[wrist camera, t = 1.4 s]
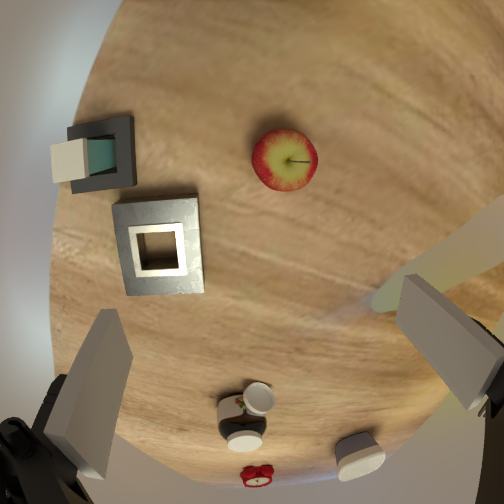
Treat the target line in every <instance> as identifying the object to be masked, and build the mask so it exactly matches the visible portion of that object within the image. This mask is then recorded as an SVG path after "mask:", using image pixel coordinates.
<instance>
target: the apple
mask: <svg viewBox="0 0 504 504" xmlns="http://www.w3.org/2000/svg"><path fill="white" fill-rule="evenodd" d="M317 165H318V156H317V153H316V150H315V148H314V146H313V145H312V143H311V142H310V140H309V139H308V138H307V137H306V136H305V135H304V134H302V133H300V132H298V131H295V130H290V129H278V130H273V131H270V132H268V133H266V134H265V135H263V136H262V137H261V138H260V140H259V141H258V143H257V144H256V146H255V148H254V151H253V154H252V166H253V168H254V171H255V173H256V174H257V176H258V177H259V179H260V180H261V181H262V182H263V183H264V184H265V185H266V186H267V187H269V188H271V189H273V190H276V191H294V190H298V189H301V188H303V187H304V186H305V185H307V184H308V182H309V181H310V180H311V178H312V177H313V175H314V173H315V171H316V168H317Z"/></svg>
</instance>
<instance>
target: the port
mask: <svg viewBox="0 0 504 504" xmlns="http://www.w3.org/2000/svg"><path fill="white" fill-rule="evenodd" d="M112 213H113V221H114V228H115V235H116V241H117V247H118V253H119V259H120V264H121V269H122V275H123V280H124V284H125V289H126V294H127V296H140V295H167V294H189V293H204V281H205V280H204V269H203V256H202V243H201V228H200V212H199V193H190V194H175V195H162V196H150V197H138V198H128V199H120V200H118V201H117V202H115V203H114V204H112ZM164 231H175V233H176V243H177V253H178V258H160V259H147V254H146V247H145V239H144V233H149V232H164Z"/></svg>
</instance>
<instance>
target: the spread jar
mask: <svg viewBox="0 0 504 504" xmlns="http://www.w3.org/2000/svg"><path fill="white" fill-rule="evenodd" d="M274 405H275V396H274V393H273V391H272V390H271V389H270V388H269V387H268V386H267V385H266V384H263V383H260V382H255V383H252V384H251V385H249V386H248V387H247V388H246V389H245V390H244V393H234V394H230V395H228V396H226V397H224V398H223V399H222V400H221V401H220V402H219V404H218V408H217V424H218V430H219V432H220V435H221V436H222V437H223V438H224V439H225V440H226V441H227V445H228V448H229V449H231V450H233V451H237V452H248V451H252V450H255V449H257V448H259V447H260V446H261V445H262V436H263V434H264V433H265V430H266V427H267V421H266V414H265V413H266V412H268V411H270V410H271V409H272V408H273V407H274Z"/></svg>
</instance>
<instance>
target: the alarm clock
mask: <svg viewBox="0 0 504 504" xmlns="http://www.w3.org/2000/svg"><path fill="white" fill-rule="evenodd" d="M273 473H274V469H273V467H271V466H270V465H264V466H260V467H246V468H245V469H244V470H243V472H242V473H241V474H240V477H241V478H242V480H243V484H244V485H245V487H246V486H247V487H262V486H265V485H268V484H270V483H271V482H272V477H271V476H272V475H273Z"/></svg>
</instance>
